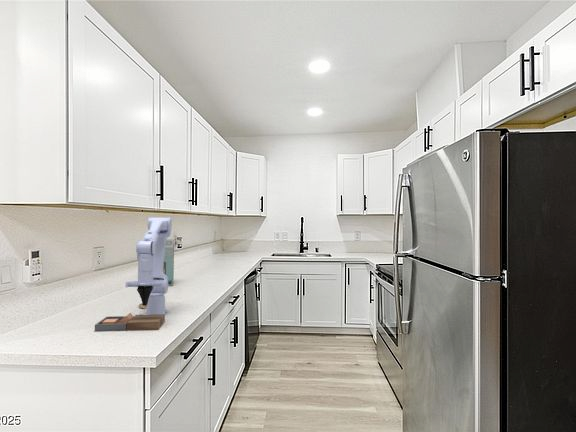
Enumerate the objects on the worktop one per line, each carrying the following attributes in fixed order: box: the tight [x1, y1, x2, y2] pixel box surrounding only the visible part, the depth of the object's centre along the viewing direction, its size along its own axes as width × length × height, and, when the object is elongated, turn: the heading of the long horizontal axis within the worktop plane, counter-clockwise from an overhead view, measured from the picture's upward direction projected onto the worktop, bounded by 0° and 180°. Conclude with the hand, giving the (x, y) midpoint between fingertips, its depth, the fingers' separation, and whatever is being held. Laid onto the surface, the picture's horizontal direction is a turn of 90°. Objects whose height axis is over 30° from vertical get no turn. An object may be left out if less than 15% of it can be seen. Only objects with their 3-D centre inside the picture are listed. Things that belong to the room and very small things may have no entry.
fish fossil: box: [138, 303, 147, 310], centre depth 185 cm, size 26×10×1 cm, turn 6°
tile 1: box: [102, 319, 118, 324], centre depth 142 cm, size 4×4×2 cm
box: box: [94, 315, 135, 332], centre depth 142 cm, size 12×11×2 cm
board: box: [126, 313, 166, 332], centre depth 144 cm, size 12×12×3 cm
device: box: [163, 238, 175, 287], centre depth 235 cm, size 16×8×30 cm, turn 104°
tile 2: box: [118, 312, 134, 324], centre depth 143 cm, size 4×4×2 cm
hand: (145, 305), depth 144 cm, fingers closed
